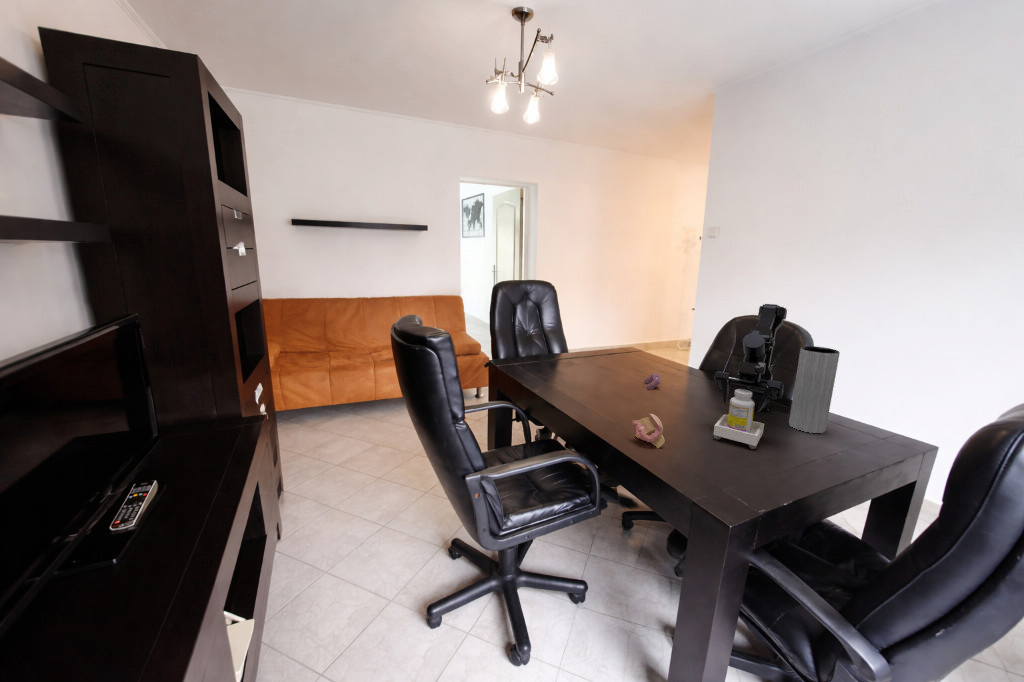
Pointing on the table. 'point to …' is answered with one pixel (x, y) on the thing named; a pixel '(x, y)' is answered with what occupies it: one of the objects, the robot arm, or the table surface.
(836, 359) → the vase
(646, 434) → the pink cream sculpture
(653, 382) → the purple lumpy piece
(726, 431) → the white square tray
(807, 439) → the table surface
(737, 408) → the supplement bottle
